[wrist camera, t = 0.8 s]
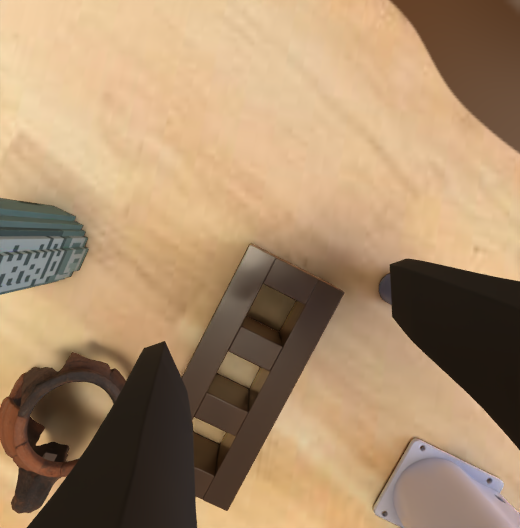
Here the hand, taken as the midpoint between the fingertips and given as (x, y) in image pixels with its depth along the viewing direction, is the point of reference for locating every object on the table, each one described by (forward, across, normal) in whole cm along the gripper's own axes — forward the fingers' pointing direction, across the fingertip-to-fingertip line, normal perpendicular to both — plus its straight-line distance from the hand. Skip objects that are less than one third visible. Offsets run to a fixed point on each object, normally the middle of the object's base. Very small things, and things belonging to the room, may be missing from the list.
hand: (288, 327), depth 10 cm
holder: (+15, +2, +14) cm, 21 cm away
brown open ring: (+17, +17, +14) cm, 28 cm away
